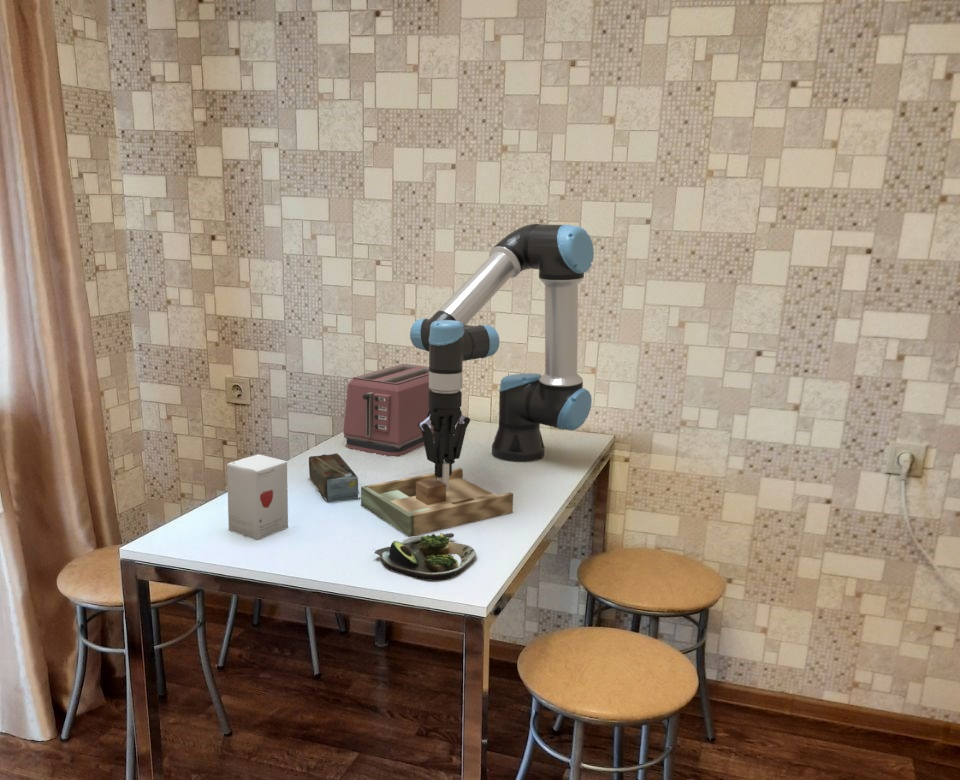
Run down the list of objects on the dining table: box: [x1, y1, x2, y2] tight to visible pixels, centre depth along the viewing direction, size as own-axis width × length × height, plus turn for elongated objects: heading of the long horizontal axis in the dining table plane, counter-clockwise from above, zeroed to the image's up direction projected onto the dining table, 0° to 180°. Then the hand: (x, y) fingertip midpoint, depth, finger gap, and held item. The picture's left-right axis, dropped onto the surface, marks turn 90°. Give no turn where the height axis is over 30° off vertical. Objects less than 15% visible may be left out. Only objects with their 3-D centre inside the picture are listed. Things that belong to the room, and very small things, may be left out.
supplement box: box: [226, 453, 289, 541], centre depth 170 cm, size 9×9×15 cm
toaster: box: [342, 363, 434, 457], centre depth 239 cm, size 19×34×20 cm, turn 153°
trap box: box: [360, 468, 514, 538], centre depth 186 cm, size 28×22×4 cm
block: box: [416, 478, 446, 505], centre depth 185 cm, size 5×5×4 cm
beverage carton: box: [308, 453, 359, 503], centre depth 198 cm, size 8×19×7 cm, turn 24°
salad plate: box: [374, 532, 477, 581], centre depth 160 cm, size 19×18×5 cm
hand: (442, 489), depth 187 cm, fingers closed
